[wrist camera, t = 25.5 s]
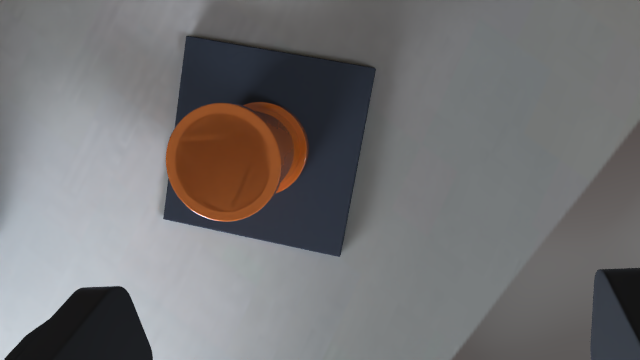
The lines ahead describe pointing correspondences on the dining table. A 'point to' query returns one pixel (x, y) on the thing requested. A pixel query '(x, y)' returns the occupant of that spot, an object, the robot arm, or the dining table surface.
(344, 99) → the mat
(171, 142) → the spool
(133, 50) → the dining table surface
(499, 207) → the dining table surface
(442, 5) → the dining table surface
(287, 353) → the dining table surface
